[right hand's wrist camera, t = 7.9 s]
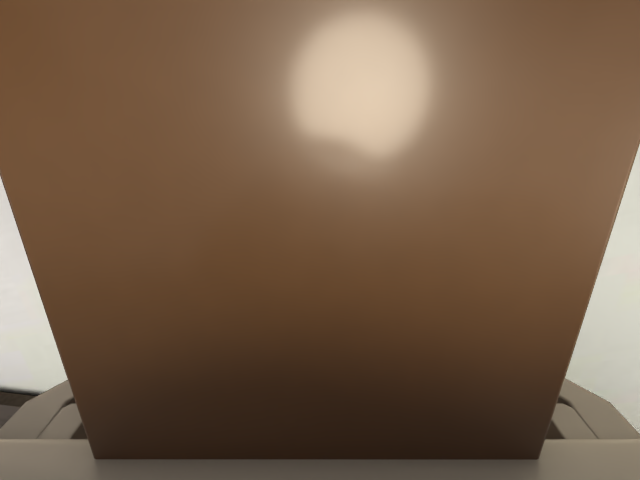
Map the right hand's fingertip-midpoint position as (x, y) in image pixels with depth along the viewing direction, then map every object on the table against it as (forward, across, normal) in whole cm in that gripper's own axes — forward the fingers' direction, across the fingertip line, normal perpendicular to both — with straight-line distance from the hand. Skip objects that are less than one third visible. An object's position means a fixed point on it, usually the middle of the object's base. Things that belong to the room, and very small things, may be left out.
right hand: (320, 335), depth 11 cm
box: (+4, 0, +9) cm, 10 cm away
